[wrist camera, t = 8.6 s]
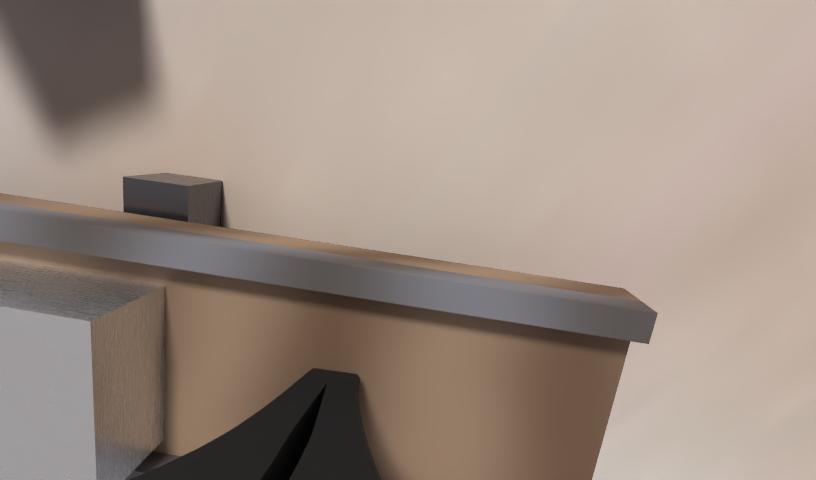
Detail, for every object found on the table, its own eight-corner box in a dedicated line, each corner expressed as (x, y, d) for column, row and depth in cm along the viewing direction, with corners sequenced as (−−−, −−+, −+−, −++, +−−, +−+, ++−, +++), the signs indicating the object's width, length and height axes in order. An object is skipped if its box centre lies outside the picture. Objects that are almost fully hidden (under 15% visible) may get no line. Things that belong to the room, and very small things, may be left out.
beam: (624, 288, 11) (657, 312, 10) (560, 526, 13) (579, 583, 11) (-277, 151, 13) (-391, 150, 11) (-224, 382, 15) (-315, 414, 13)
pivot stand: (221, 181, 14) (188, 186, 12) (213, 426, 16) (183, 465, 14) (166, 173, 14) (123, 176, 12) (164, 419, 16) (127, 457, 14)
